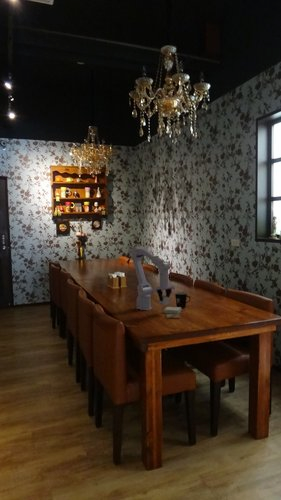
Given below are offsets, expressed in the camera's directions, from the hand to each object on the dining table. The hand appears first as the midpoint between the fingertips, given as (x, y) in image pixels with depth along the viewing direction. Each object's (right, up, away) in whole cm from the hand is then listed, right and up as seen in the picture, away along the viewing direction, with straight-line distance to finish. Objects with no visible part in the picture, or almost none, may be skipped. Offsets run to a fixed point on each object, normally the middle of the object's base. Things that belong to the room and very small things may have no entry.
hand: (164, 300), depth 220 cm
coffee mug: (+14, -7, +15) cm, 22 cm away
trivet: (+5, -9, -9) cm, 14 cm away
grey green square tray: (+6, -8, +4) cm, 11 cm away
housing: (0, -2, 0) cm, 2 cm away
